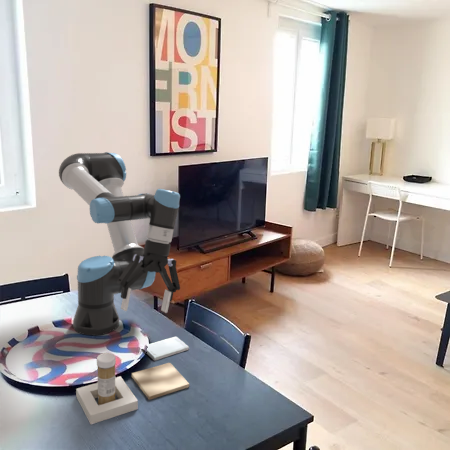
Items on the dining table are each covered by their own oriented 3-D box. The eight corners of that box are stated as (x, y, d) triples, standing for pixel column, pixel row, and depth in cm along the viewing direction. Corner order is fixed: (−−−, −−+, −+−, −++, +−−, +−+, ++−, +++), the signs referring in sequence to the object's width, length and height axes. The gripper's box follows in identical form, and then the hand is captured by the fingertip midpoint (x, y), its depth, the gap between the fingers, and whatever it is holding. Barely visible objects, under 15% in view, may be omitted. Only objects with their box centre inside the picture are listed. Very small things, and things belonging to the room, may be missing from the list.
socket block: (76, 397, 120) (76, 388, 119) (120, 384, 126) (120, 376, 126) (90, 424, 110) (90, 415, 110) (137, 409, 117) (137, 400, 116)
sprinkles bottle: (113, 395, 121) (113, 350, 118) (117, 406, 117) (117, 359, 114) (95, 399, 119) (95, 353, 116) (99, 410, 115) (98, 363, 112)
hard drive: (154, 357, 138) (189, 346, 146) (141, 345, 145) (175, 335, 152) (154, 362, 139) (189, 351, 146) (141, 350, 145) (175, 339, 152)
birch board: (131, 376, 130) (131, 373, 130) (169, 365, 137) (169, 362, 136) (149, 399, 121) (149, 396, 120) (189, 386, 127) (189, 383, 127)
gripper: (125, 237, 127) (110, 312, 127) (199, 248, 142) (185, 315, 142) (115, 233, 133) (100, 305, 133) (186, 244, 148) (173, 308, 148)
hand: (144, 310), depth 138 cm, fingers open, 13 cm apart
